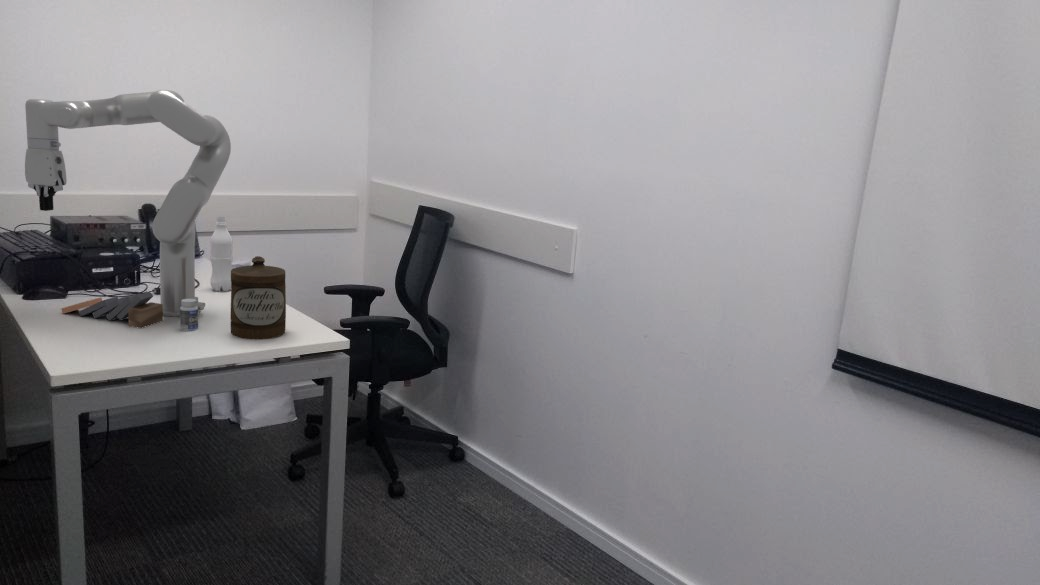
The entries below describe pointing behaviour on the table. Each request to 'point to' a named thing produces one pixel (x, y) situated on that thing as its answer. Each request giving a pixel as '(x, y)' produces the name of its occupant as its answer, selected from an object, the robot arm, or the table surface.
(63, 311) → the domino
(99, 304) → the domino
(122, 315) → the domino
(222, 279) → the water bottle
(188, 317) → the pill bottle
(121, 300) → the domino
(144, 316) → the brown wooden block
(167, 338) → the table surface
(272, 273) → the wooden container
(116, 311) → the domino
